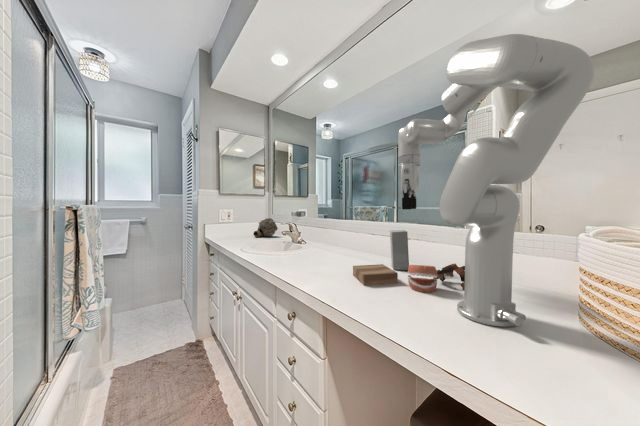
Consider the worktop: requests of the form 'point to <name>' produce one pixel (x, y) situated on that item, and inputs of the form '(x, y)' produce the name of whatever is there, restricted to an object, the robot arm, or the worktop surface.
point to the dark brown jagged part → (449, 272)
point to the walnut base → (375, 274)
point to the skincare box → (399, 249)
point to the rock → (266, 228)
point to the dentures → (422, 283)
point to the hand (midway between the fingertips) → (409, 209)
